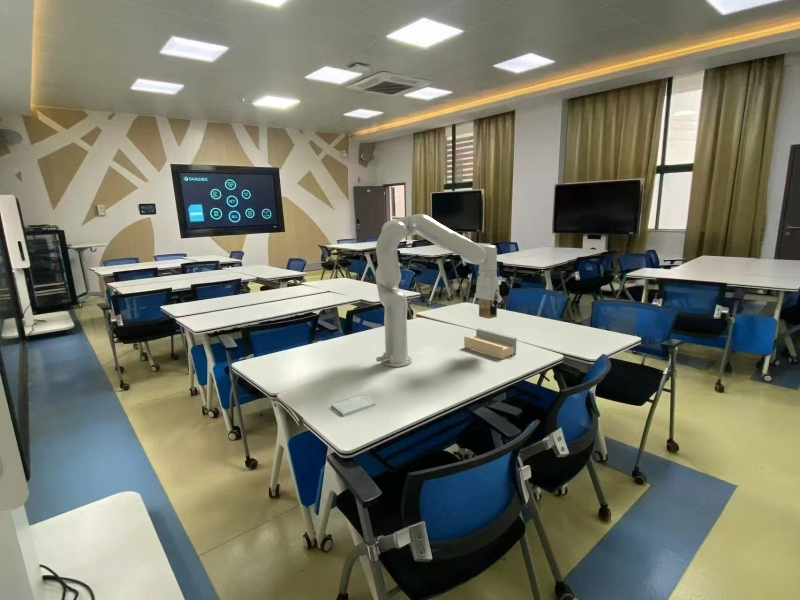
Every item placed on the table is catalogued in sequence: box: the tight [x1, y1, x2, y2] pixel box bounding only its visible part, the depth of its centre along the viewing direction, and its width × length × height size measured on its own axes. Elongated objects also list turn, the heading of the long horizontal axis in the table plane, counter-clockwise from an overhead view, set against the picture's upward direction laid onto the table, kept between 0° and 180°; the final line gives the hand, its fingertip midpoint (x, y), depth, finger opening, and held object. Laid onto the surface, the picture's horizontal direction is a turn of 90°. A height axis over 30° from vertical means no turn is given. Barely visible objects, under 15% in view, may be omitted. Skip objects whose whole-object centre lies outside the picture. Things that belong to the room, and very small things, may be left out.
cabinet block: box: [478, 298, 498, 320], centre depth 181 cm, size 6×6×9 cm
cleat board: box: [463, 327, 517, 360], centre depth 186 cm, size 10×22×8 cm, turn 36°
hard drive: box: [330, 394, 377, 417], centre depth 135 cm, size 2×8×12 cm
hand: (487, 313), depth 182 cm, fingers closed on cabinet block, 6 cm apart
